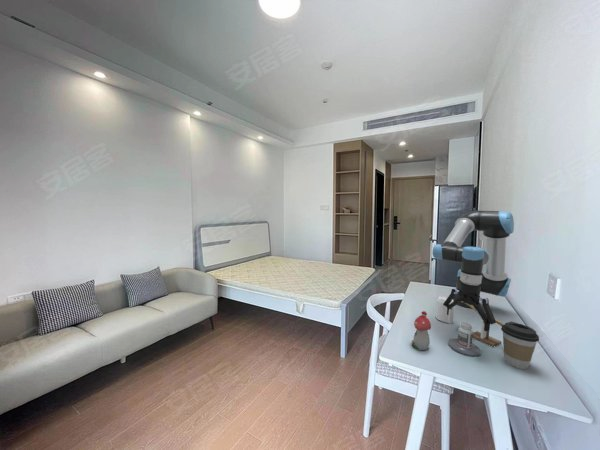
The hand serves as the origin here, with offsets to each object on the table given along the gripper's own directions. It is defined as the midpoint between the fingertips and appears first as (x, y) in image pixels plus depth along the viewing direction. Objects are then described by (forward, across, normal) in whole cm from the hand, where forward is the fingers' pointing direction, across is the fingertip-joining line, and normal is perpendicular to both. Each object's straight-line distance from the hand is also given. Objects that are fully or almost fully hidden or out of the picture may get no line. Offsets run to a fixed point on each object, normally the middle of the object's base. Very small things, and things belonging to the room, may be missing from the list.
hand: (465, 329), depth 106 cm
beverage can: (+9, -21, +18) cm, 29 cm away
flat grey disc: (+8, 0, -1) cm, 8 cm away
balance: (+9, 0, +16) cm, 19 cm away
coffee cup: (+9, +15, +8) cm, 19 cm away
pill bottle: (+7, 0, 0) cm, 7 cm away
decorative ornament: (+8, -9, -18) cm, 21 cm away
